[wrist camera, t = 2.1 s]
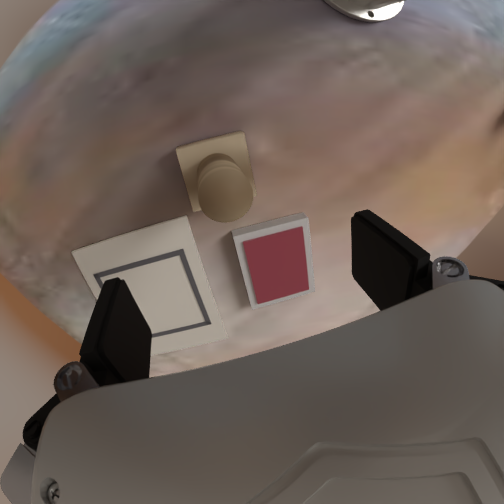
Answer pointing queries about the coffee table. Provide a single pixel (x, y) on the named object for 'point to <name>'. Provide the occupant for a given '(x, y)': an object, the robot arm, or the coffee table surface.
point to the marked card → (159, 282)
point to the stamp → (218, 176)
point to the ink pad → (276, 259)
